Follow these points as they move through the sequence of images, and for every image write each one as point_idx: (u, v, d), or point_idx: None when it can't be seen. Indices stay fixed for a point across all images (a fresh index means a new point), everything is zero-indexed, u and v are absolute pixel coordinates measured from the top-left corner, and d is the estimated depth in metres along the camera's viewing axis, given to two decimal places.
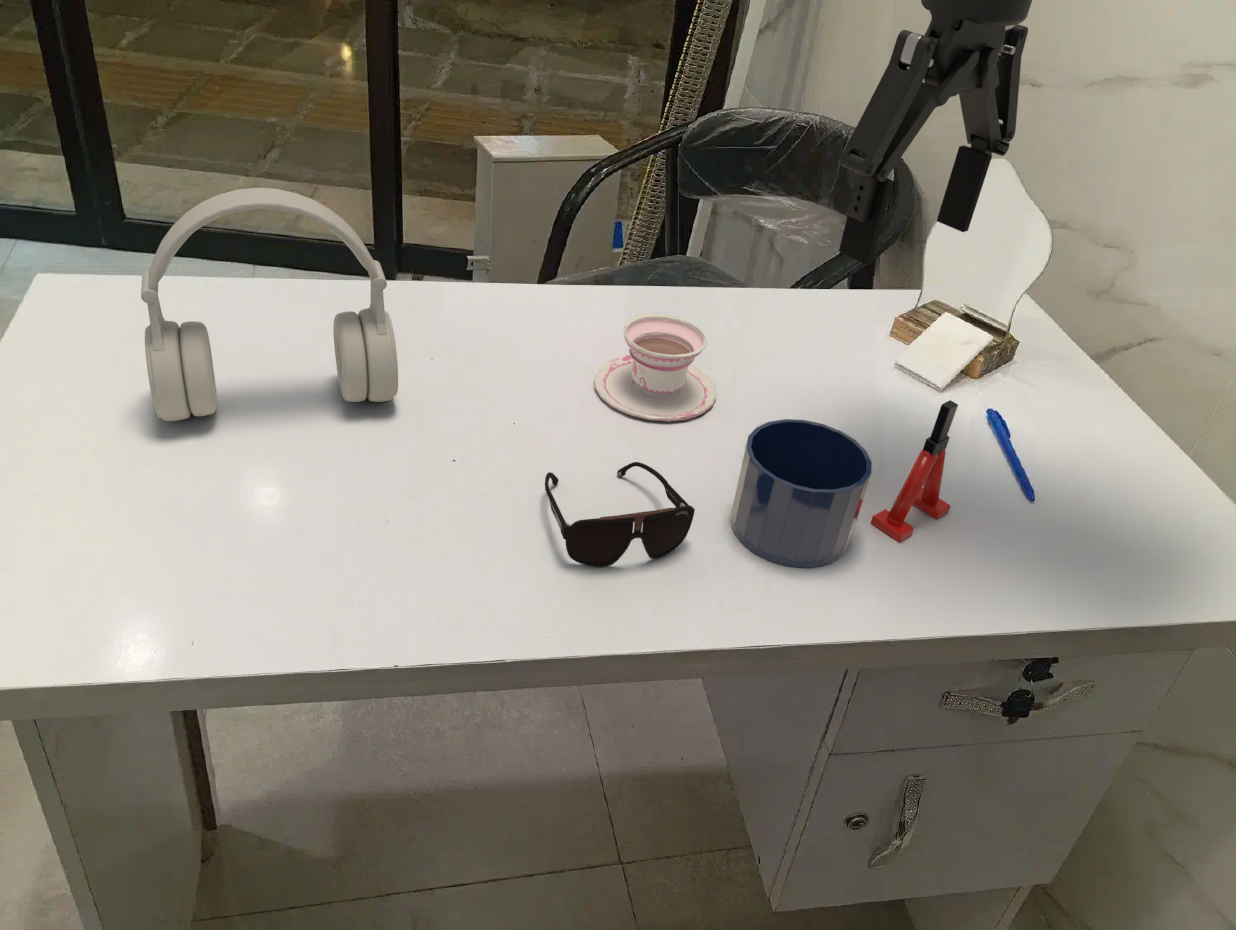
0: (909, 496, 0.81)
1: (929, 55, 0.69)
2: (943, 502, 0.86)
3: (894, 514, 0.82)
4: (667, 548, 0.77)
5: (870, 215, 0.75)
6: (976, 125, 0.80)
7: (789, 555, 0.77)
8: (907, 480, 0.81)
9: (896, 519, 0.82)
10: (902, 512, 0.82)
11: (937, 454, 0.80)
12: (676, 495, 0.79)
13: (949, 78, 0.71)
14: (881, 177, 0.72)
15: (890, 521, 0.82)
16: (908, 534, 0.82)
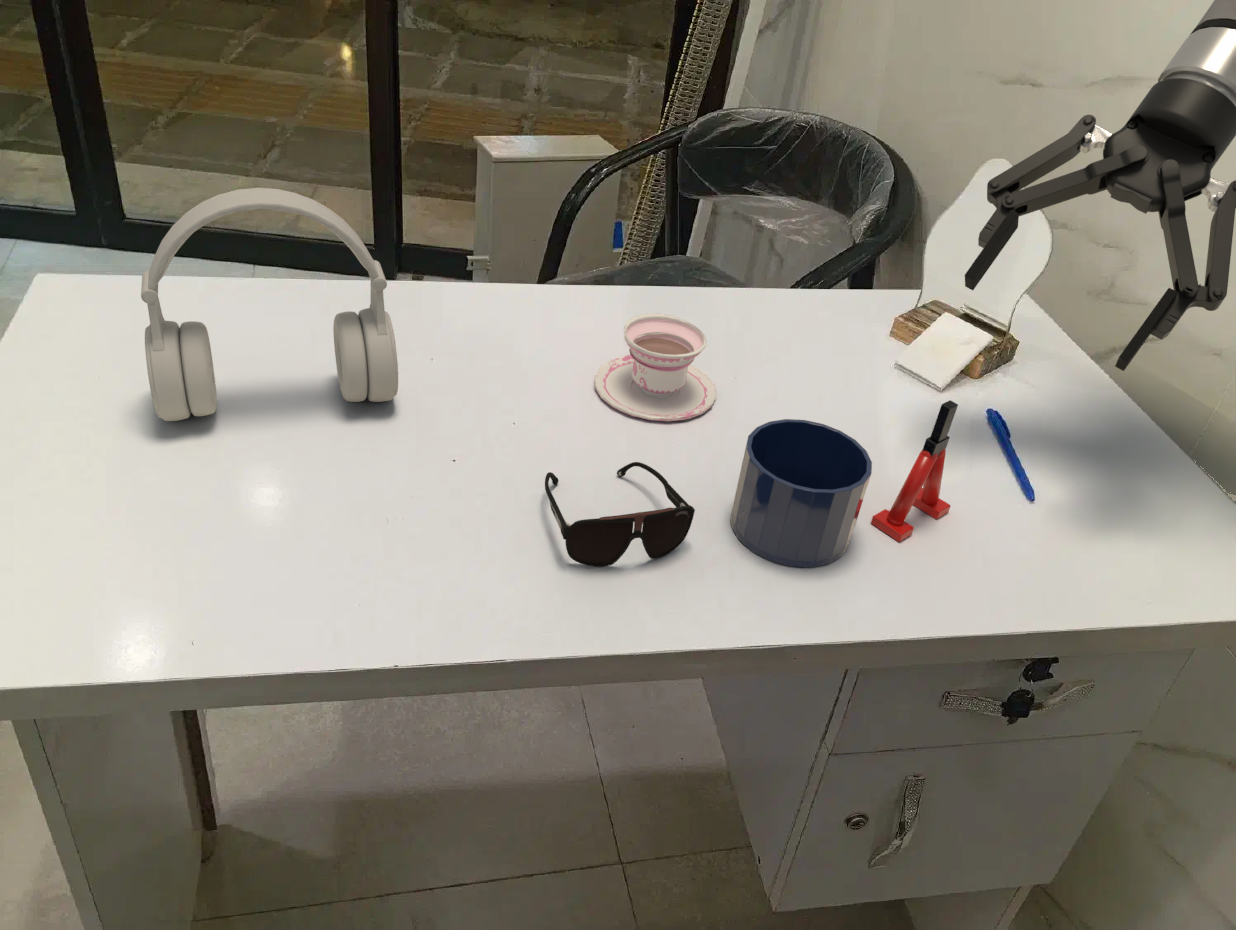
0: (909, 496, 0.81)
1: (1086, 127, 0.81)
2: (943, 502, 0.86)
3: (894, 514, 0.82)
4: (667, 548, 0.77)
5: (989, 239, 0.83)
6: (1173, 265, 0.78)
7: (789, 555, 0.77)
8: (907, 480, 0.81)
9: (896, 519, 0.82)
10: (902, 512, 0.82)
11: (937, 454, 0.80)
12: (676, 495, 0.79)
13: (1107, 158, 0.80)
14: (1005, 201, 0.83)
15: (890, 521, 0.82)
16: (908, 534, 0.82)
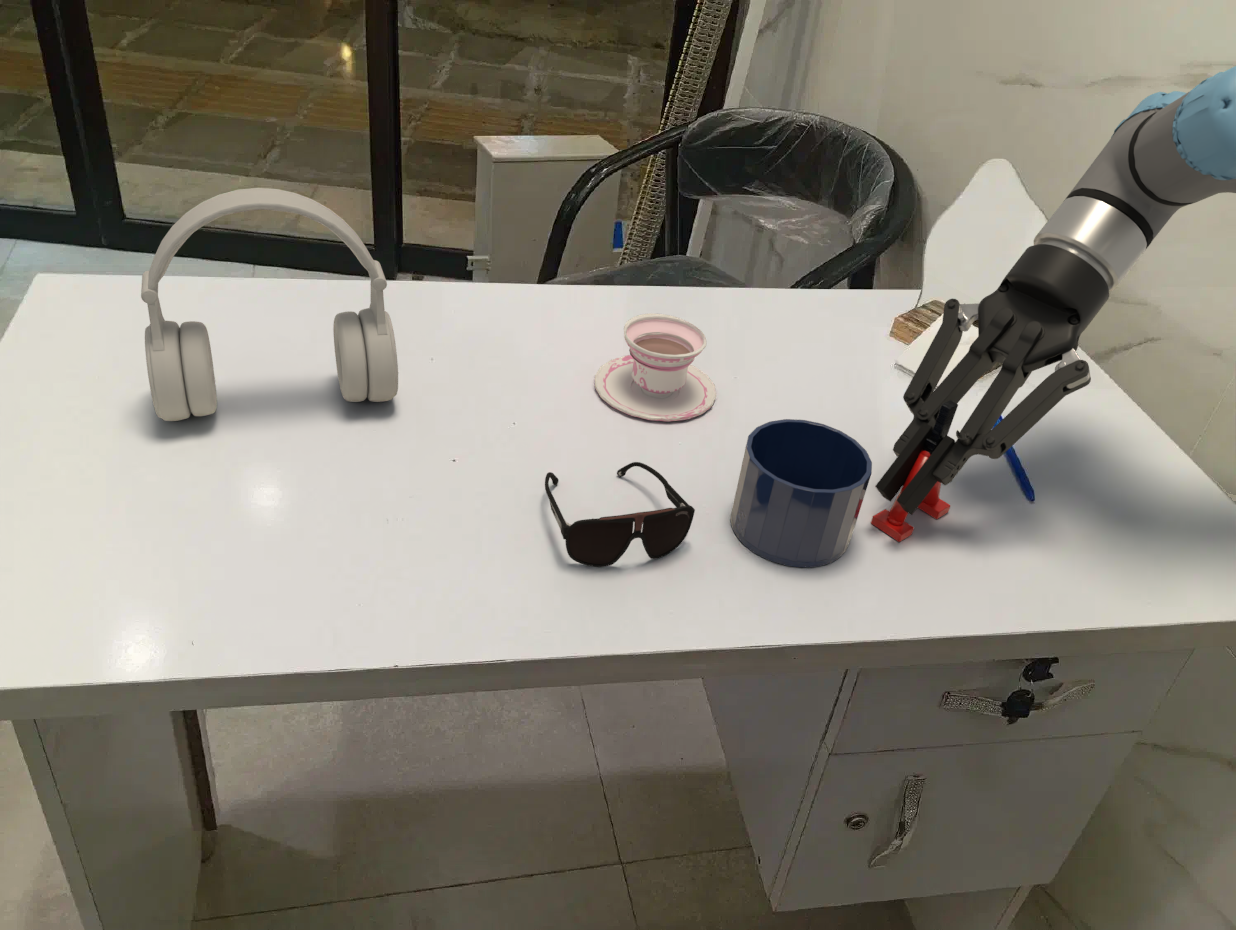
0: None
1: (954, 310, 0.82)
2: (943, 502, 0.86)
3: (894, 514, 0.82)
4: (667, 548, 0.77)
5: None
6: None
7: (789, 555, 0.77)
8: (907, 480, 0.81)
9: (896, 519, 0.82)
10: (902, 512, 0.82)
11: None
12: (676, 495, 0.79)
13: None
14: (920, 415, 0.81)
15: (890, 521, 0.82)
16: (908, 534, 0.82)
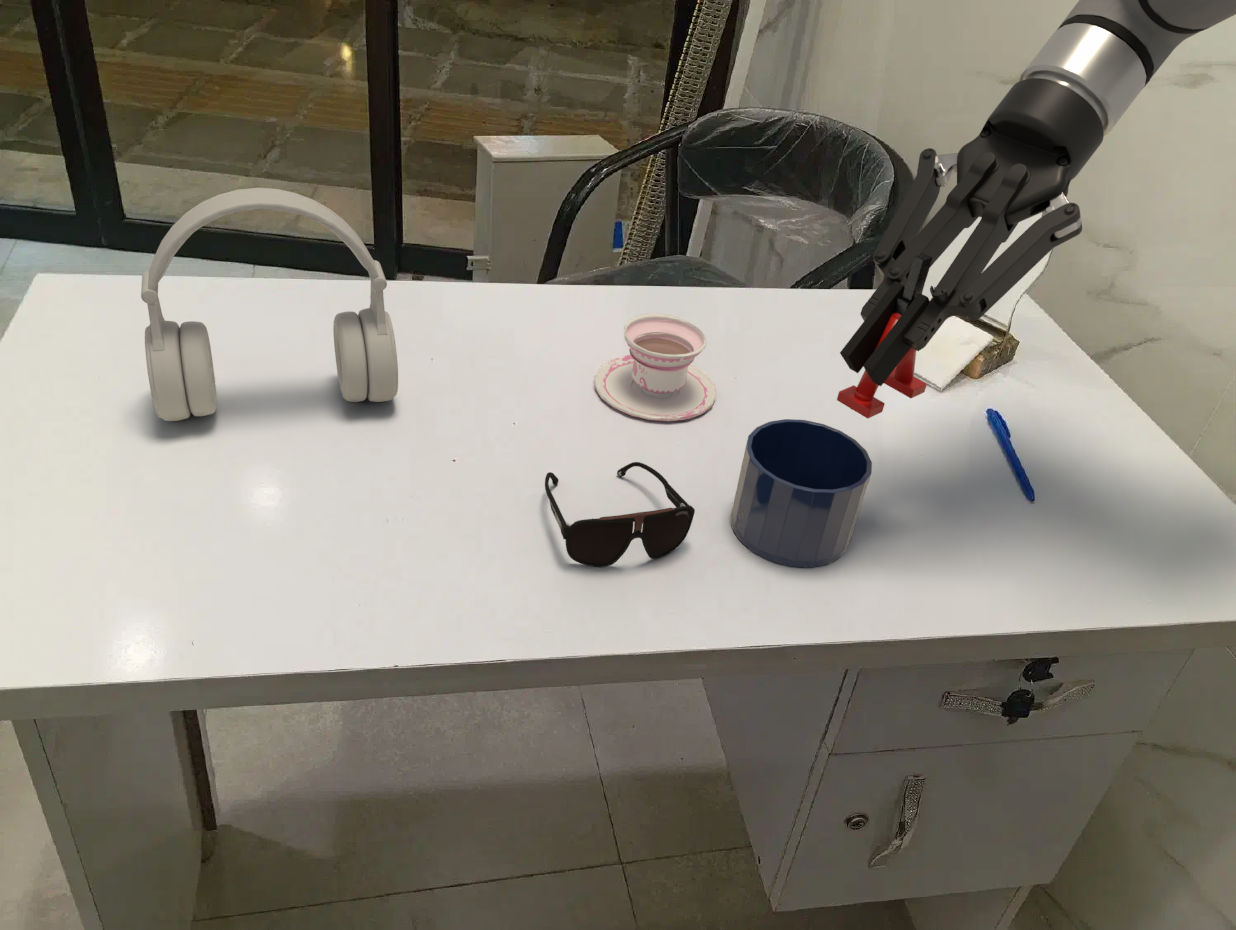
0: None
1: (930, 160, 0.74)
2: (919, 380, 0.77)
3: (863, 388, 0.73)
4: (667, 548, 0.77)
5: None
6: None
7: (789, 555, 0.77)
8: None
9: (864, 393, 0.73)
10: (871, 385, 0.73)
11: None
12: (676, 495, 0.79)
13: None
14: (891, 274, 0.72)
15: (858, 396, 0.74)
16: (878, 410, 0.74)
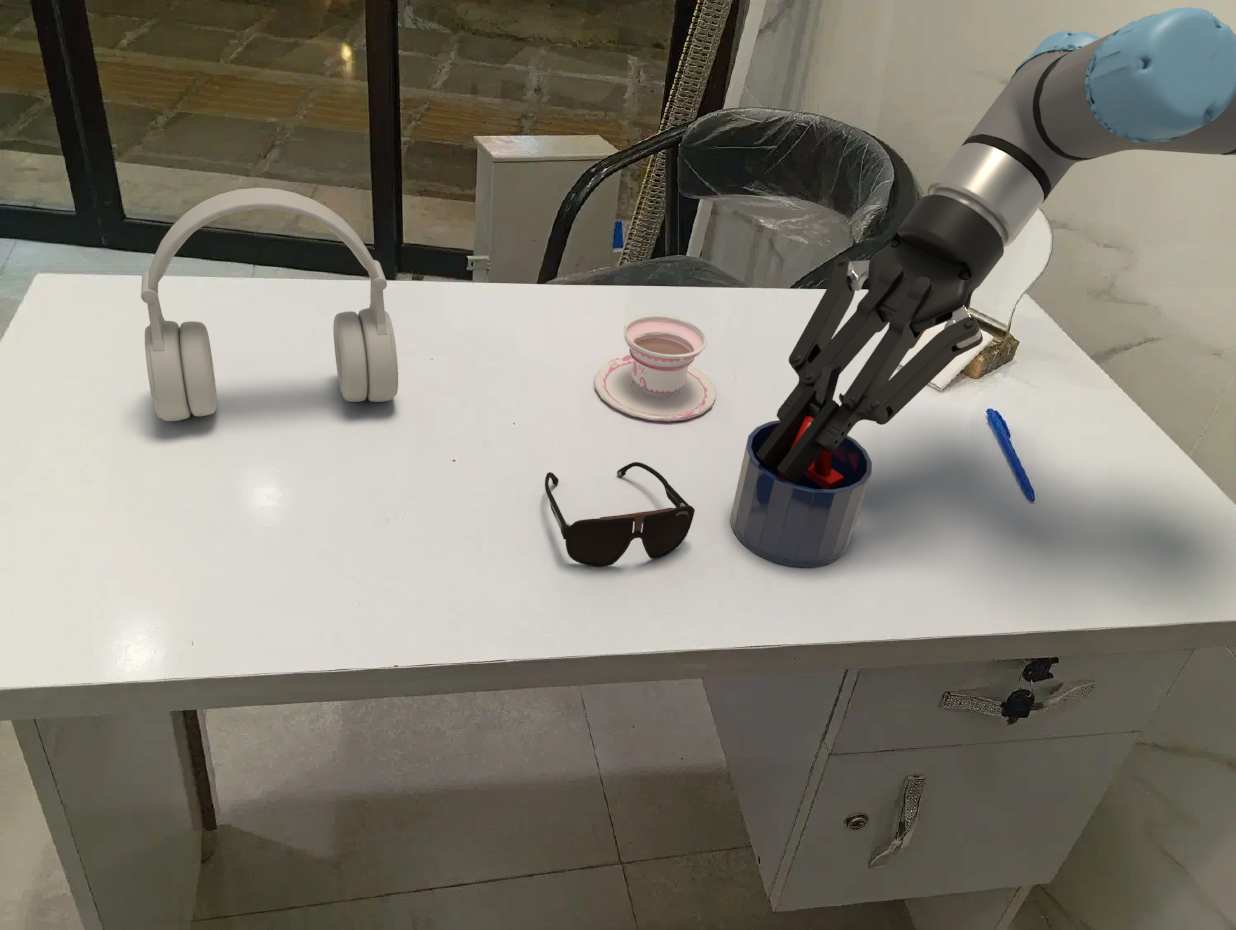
0: None
1: (843, 267, 0.77)
2: (837, 473, 0.81)
3: None
4: (667, 548, 0.77)
5: None
6: None
7: (789, 555, 0.77)
8: None
9: None
10: None
11: None
12: (676, 495, 0.79)
13: None
14: (805, 379, 0.75)
15: None
16: None
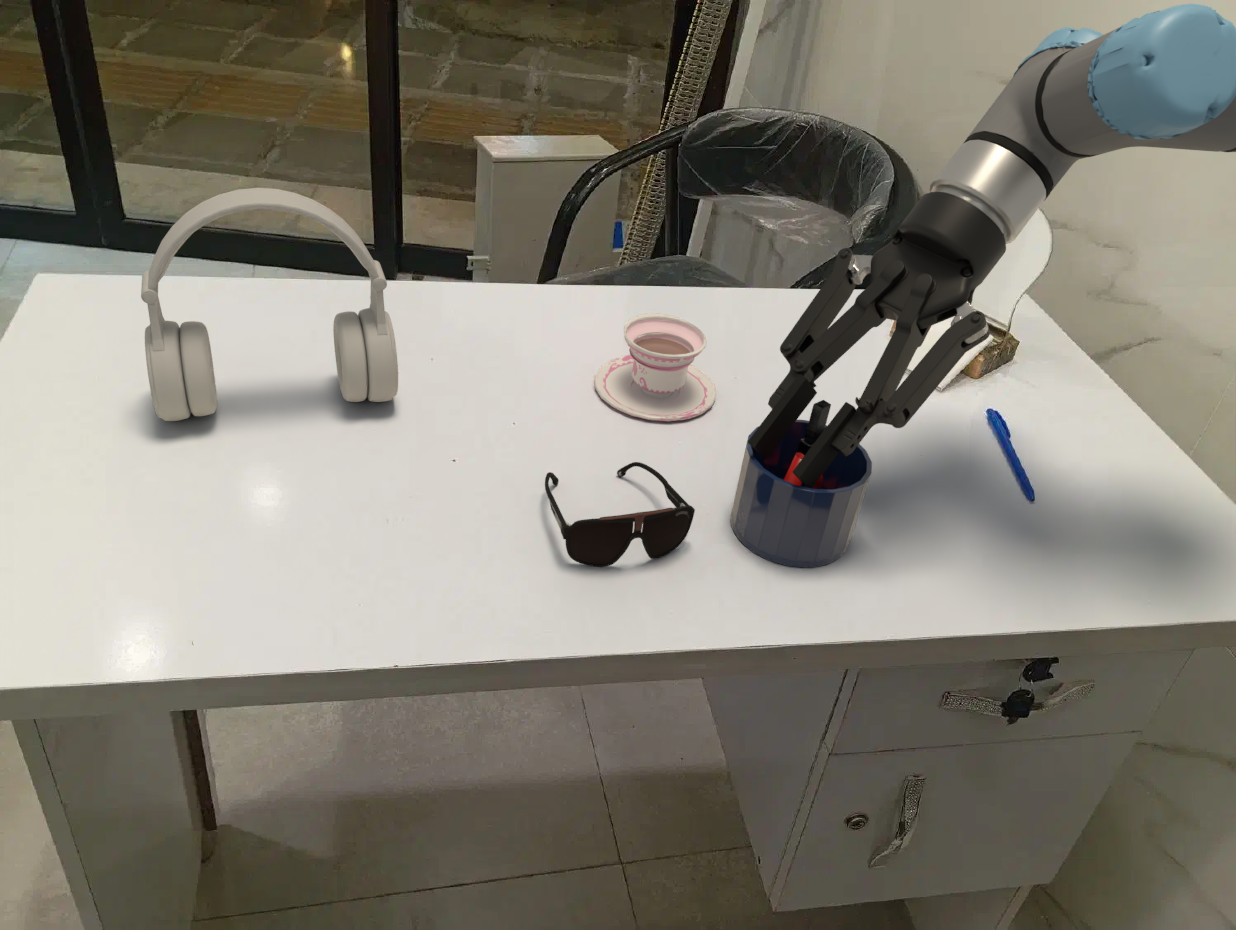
0: None
1: (845, 260, 0.77)
2: None
3: None
4: (667, 548, 0.77)
5: None
6: None
7: (789, 555, 0.77)
8: None
9: None
10: None
11: None
12: (676, 495, 0.79)
13: None
14: (795, 366, 0.76)
15: None
16: None
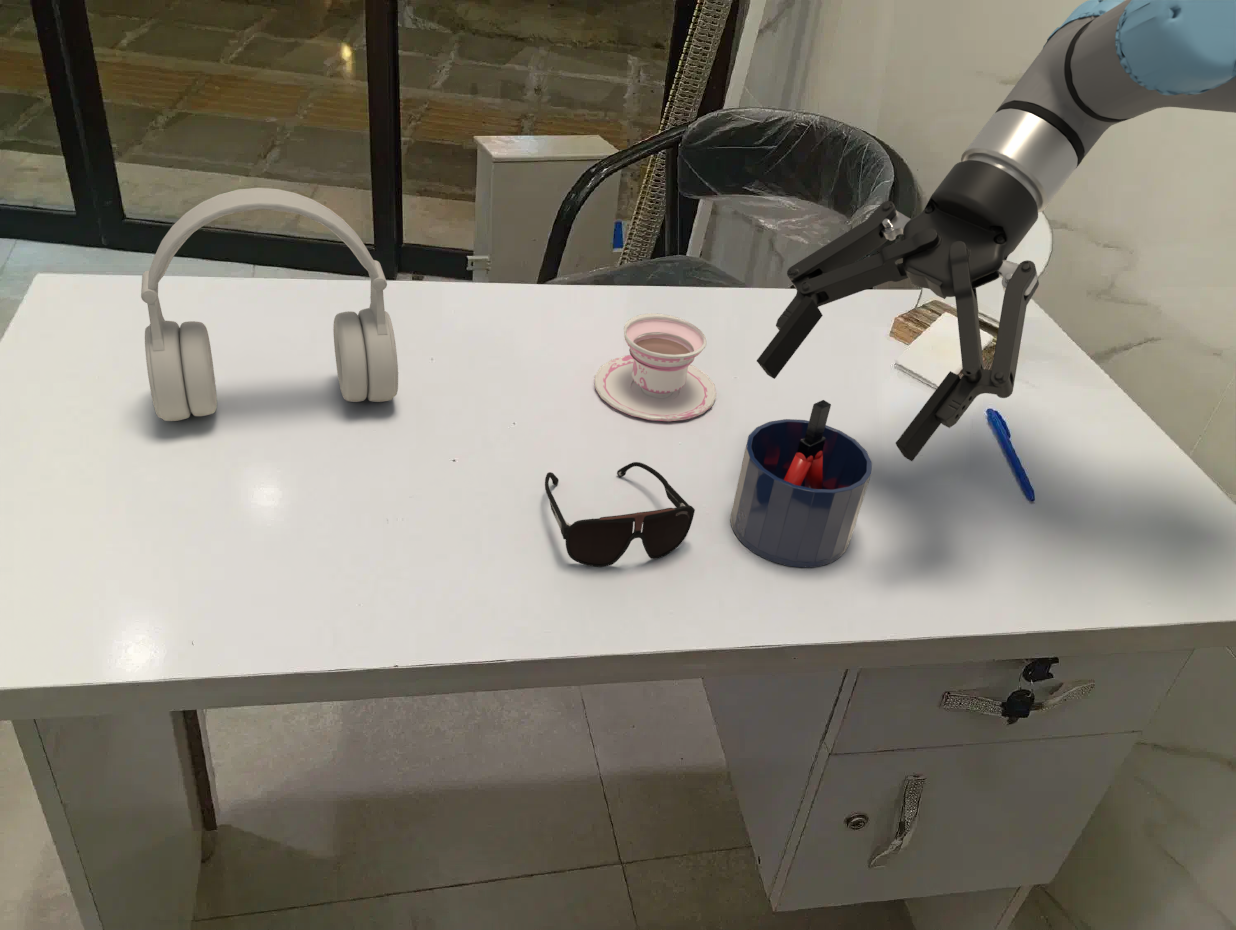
0: None
1: (884, 213, 0.79)
2: None
3: None
4: (667, 548, 0.77)
5: None
6: None
7: (789, 555, 0.77)
8: None
9: None
10: None
11: (812, 456, 0.77)
12: (676, 495, 0.79)
13: None
14: (802, 287, 0.80)
15: None
16: None
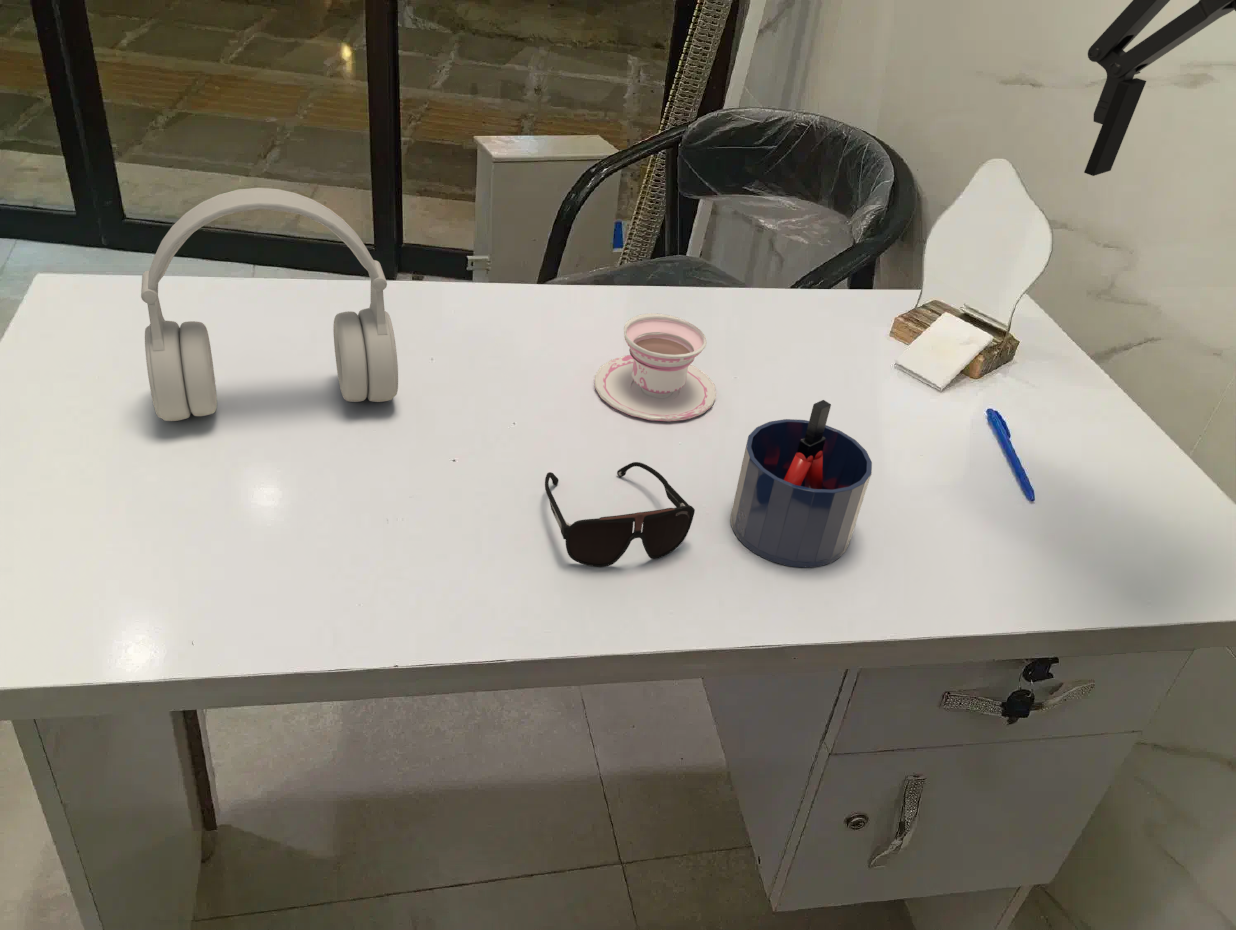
0: None
1: None
2: None
3: None
4: (667, 548, 0.77)
5: None
6: None
7: (789, 555, 0.77)
8: None
9: None
10: None
11: (812, 456, 0.77)
12: (676, 495, 0.79)
13: None
14: (1111, 71, 0.70)
15: None
16: None
